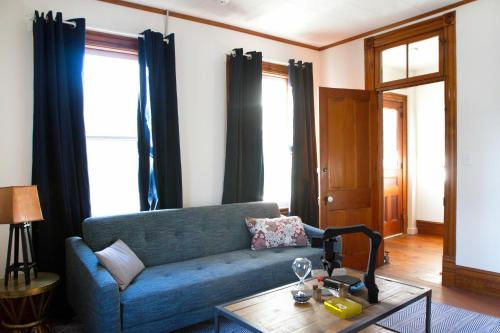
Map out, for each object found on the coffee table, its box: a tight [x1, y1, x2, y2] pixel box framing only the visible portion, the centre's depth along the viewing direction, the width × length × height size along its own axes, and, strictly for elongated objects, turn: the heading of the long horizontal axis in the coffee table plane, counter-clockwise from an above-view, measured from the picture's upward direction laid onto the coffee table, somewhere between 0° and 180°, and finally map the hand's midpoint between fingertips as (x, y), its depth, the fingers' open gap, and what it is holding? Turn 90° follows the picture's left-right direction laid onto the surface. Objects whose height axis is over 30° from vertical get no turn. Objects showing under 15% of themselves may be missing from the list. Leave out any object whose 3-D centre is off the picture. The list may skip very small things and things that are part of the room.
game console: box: [316, 274, 366, 295], centre depth 231 cm, size 28×6×15 cm
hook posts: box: [311, 283, 349, 303], centre depth 214 cm, size 6×19×8 cm, turn 101°
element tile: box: [323, 296, 363, 320], centre depth 198 cm, size 15×15×5 cm
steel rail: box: [310, 267, 347, 278], centre depth 214 cm, size 3×20×3 cm, turn 101°
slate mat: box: [290, 287, 334, 298], centre depth 221 cm, size 9×23×1 cm, turn 101°
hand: (328, 275), depth 214 cm, fingers closed on steel rail, 3 cm apart
